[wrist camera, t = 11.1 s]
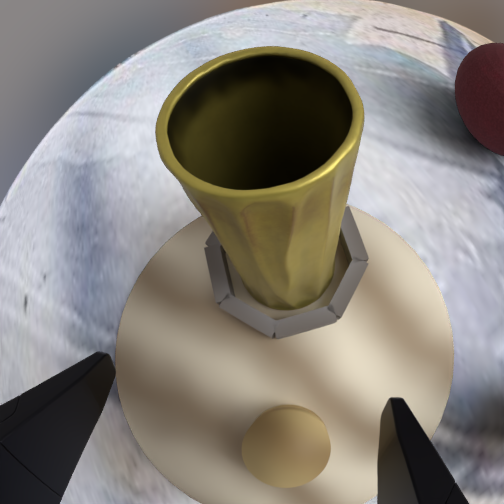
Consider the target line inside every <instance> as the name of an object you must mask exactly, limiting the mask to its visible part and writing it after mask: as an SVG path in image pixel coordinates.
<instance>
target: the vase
mask: <svg viewBox="0 0 504 504" xmlns="http://www.w3.org/2000/svg"><path fill="white" fill-rule="evenodd" d="M363 126H364V108H363V103H362V100H361V98H360V96H359V94H358V92H357V90H356V88H355V86H354V85H353V83H352V81H351V80H350V78H349V77H348V76H347V75H346V73H345V72H344V71H342V70H341V69H340V68H339V67H338V66H336V65H335V64H333V63H332V62H330V61H328V60H326V59H324V58H322V57H321V56H318V55H316V54H313V53H310V52H307V51H303V50H299V49H293V48H287V47H279V46H266V47H255V48H248V49H243V50H239V51H234V52H231V53H228V54H225V55H222V56H219V57H217V58H215V59H213V60H211V61H209V62H206V63H205V64H203V65H202V66H200V67H198V68H197V69H195V70H194V71H192V72H191V73H189V74H188V75H187V76H186V77H184V78H183V79H182V80H181V81H180V82H179V83H178V84H177V85H176V86H175V87H174V89H173V90H172V91H171V93H170V94H169V95H168V97H167V98H166V100H165V102H164V103H163V106H162V108H161V110H160V113H159V115H158V118H157V122H156V130H155V134H156V142H157V147H158V151H159V154H160V158H161V160H162V162H163V163H164V165H165V166H166V168H167V169H168V170H169V171H170V172H171V173H172V174H173V175H174V176H175V177H176V179H177V180H178V181H179V182H180V184H181V185H182V187H183V189H184V191H185V193H186V194H187V196H188V198H189V199H190V200H191V202H192V203H193V205H194V206H195V207H196V208H197V210H198V211H199V212H200V213H201V215H202V216H203V217H204V219H205V220H206V221H207V223H208V224H209V225H210V227H211V228H212V230H213V232H214V233H215V235H216V237H217V238H218V240H219V242H220V243H221V245H222V246H223V248H224V250H225V251H226V253H227V255H228V257H229V258H230V260H231V262H232V264H233V265H234V267H235V269H236V271H237V272H238V274H239V275H240V277H241V279H242V282H243V285H244V287H245V288H246V290H247V291H248V292H249V294H250V295H251V296H252V297H253V298H254V299H255V300H257V301H258V302H259V303H261V304H263V305H264V306H267V307H269V308H272V309H276V310H286V311H289V310H296V309H300V308H303V307H306V306H308V305H310V304H312V303H313V302H315V301H317V300H318V299H319V298H320V297H321V296H322V295H323V294H324V292H325V291H326V289H327V288H328V286H329V285H330V283H331V281H332V278H333V275H334V271H335V254H336V249H337V244H338V239H339V234H340V228H341V222H342V218H343V215H344V211H345V207H346V203H347V199H348V195H349V190H350V186H351V181H352V176H353V170H354V166H355V162H356V159H357V154H358V150H359V145H360V140H361V135H362V131H363Z"/></svg>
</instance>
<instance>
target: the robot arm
mask: <svg viewBox="0 0 504 504" xmlns="http://www.w3.org/2000/svg"><path fill="white" fill-rule="evenodd" d="M115 376H116V369H115V367H114V364H113V362H112V359H111V357H110V355H109V354H107V353H104V352H100V351H99V352H96V353H94V354H92V355H91V356H89V357H87V358H85V359H83V360H82V361H80V362H78V363H76V364H75V365H73V366H71V367H69V368H68V369H66V370H64V371H62V372H60V373H59V374H57V375H55V376H53V377H51V378H50V379H48V380H46V381H44V382H43V383H41V384H39V385H37V386H35V387H34V388H32V389H30V390H28V391H26V392H25V393H23V394H21V395H20V396H17V397H15V398H14V399H12V400H10V401H8V402H6V403H4V404H2V405H0V504H60V502H61V500H62V497H63V495H64V492H65V490H66V488H67V485H68V483H69V481H70V479H71V476H72V474H73V472H74V470H75V468H76V465H77V463H78V461H79V459H80V457H81V454H82V452H83V450H84V448H85V446H86V444H87V442H88V440H89V438H90V435H91V433H92V431H93V429H94V427H95V425H96V423H97V421H98V419H99V417H100V415H101V413H102V410H103V408H104V406H105V403H106V400H107V397H108V395H109V392H110V389H111V387H112V384H113V381H114V379H115ZM377 487H378V498H377V504H469V503H468V501H467V499H466V498H465V496H464V495H463V493H462V491H461V490H460V488H459V486H458V485H457V483H455V480H454V478H453V477H452V475H451V473H450V472H449V470H448V468H447V467H446V465H445V463H444V462H443V460H442V458H441V457H440V455H439V454H438V452H437V450H436V449H435V447H434V446H433V444H432V442H431V441H430V439H429V438H428V436H427V434H426V433H425V431H424V430H423V428H422V427H421V425H420V423H419V422H418V420H417V419H416V417H415V416H414V414H413V413H412V411H411V409H410V408H409V406H408V405H407V403H406V402H405V400H404V399H403V398H401V397H390V398H389V399H388V401H387V403H386V405H385V407H384V409H383V411H382V414H381V419H380V434H379V447H378V459H377Z"/></svg>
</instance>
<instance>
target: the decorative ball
mask: <svg viewBox="0 0 504 504" xmlns="http://www.w3.org/2000/svg"><path fill="white" fill-rule="evenodd" d="M455 98H456V103H457V107H458V110H459V113H460V115H461V117H462V120H463V122H464V124H465V126H466V127H467V129H468V130H469V132H470V133H471V134H472V135H473V136H474V137H475V138H476V139H477V140H478V141H479V142H480V143H481V144H482V145H483V146H485V147H486V148H487V149H489V150H491V151H492V152H494V153H497V154H499V155H502V156H504V44H503V43H489V44H485V45H481V46H479V47H477V48H475V49H474V50H472V51H470V52H469V53H468V54H467V56H466V57H465V58H464V59H463V61H462V63H461V64H460V66H459V68H458V71H457V75H456V80H455Z"/></svg>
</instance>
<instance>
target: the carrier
mask: <svg viewBox="0 0 504 504" xmlns="http://www.w3.org/2000/svg"><path fill="white" fill-rule="evenodd" d="M453 365H454V346H453V335H452V328H451V324H450V319H449V315H448V311H447V307H446V305H445V302H444V299H443V297H442V294H441V292H440V289H439V287H438V285H437V283H436V282H435V280H434V278H433V276H432V274H431V273H430V271H429V269H428V268H427V266H426V265H425V264H424V262H423V261H422V260H421V258H420V257H419V256H418V254H417V253H416V252H415V250H414V249H413V248H412V247H411V246H410V245H409V244H408V243H407V242H406V241H405V240H404V239H403V238H402V237H401V236H400V235H398V234H397V233H396V232H395V231H393V230H392V229H391V228H389V227H388V226H387V225H386V224H384V223H383V222H381V221H380V220H378V219H376V218H375V217H373V216H371V215H369V214H368V213H366V212H364V211H362V210H360V209H357V208H355V207H353V206H350V205H348V204H346V207H345V211H344V215H343V218H342V222H341V228H340V234H339V239H338V244H337V249H336V254H335V271H334V275H333V278H332V281H331V283H330V285H329V286H328V288H327V289H326V291H325V292H324V294H323V295H322V296H321V297H320V298H319V299H318V300H317V301H315V302H313V303H312V304H310V305H308V306H306V307H303V308H300V309H296V310H289V311H286V310H276V309H272V308H269V307H267V306H264V305H263V304H261V303H259V302H258V301H257V300H255V299H254V298H253V297H252V296H251V295H250V294H249V292H248V291H247V290H246V288H245V287H244V285H243V282H242V279H241V277H240V275H239V274H238V272H237V271H236V269H235V267H234V265H233V264H232V262H231V260H230V258H229V257H228V255H227V253H226V251H225V250H224V248H223V246H222V245H221V243H220V242H219V240H218V238H217V237H216V235H215V233H214V232H213V230H212V228H211V227H210V225H209V224H208V223H207V221H206V220H205V219H204V217H203V216H201V217H199V218H197V219H196V220H194V221H193V222H191V223H190V224H188V225H187V226H185V227H184V228H182V229H181V230H180V231H179V232H177V233H176V234H175V235H174V236H173V237H172V238H171V239H169V240H168V241H167V242H166V243H165V244H164V245H163V246H162V247H161V248H160V250H159V251H158V252H157V253H156V254H155V255H154V256H153V257H152V258H151V260H150V261H149V263H148V264H147V265H146V267H145V268H144V270H143V271H142V273H141V274H140V276H139V277H138V279H137V281H136V283H135V285H134V287H133V289H132V291H131V293H130V294H129V297H128V300H127V302H126V305H125V308H124V310H123V313H122V317H121V321H120V325H119V329H118V334H117V342H116V352H115V366H116V380H117V387H118V393H119V398H120V401H121V405H122V408H123V412H124V415H125V418H126V420H127V422H128V425H129V427H130V429H131V431H132V434H133V436H134V437H135V439H136V441H137V442H138V444H139V446H140V447H141V449H142V450H143V452H144V454H145V455H146V456H147V457H148V459H149V460H150V461H151V462H152V464H153V465H154V466H155V467H156V469H157V470H158V471H159V472H160V473H161V474H162V475H163V476H164V477H166V478H167V479H168V480H169V481H170V482H171V483H172V484H173V485H174V486H176V487H177V488H178V489H180V490H181V491H182V492H184V493H185V494H186V495H188V496H189V497H191V498H193V499H194V500H196V501H198V502H200V503H202V504H364V503H365V502H367V501H369V500H370V499H372V498H373V497H375V496H377V495H378V487H377V459H378V447H379V434H380V419H381V414H382V411H383V409H384V407H385V405H386V403H387V401H388V399H389V398H390V397H401V398H403V399H404V400H405V402H406V403H407V405H408V406H409V408H410V409H411V411H412V413H413V414H414V416H415V417H416V419H417V420H418V422H419V423H420V425H421V427H422V428H423V430H424V431H425V433H426V434H427V436H428V438H429V439H430V440H431V438H432V436H433V435H434V433H435V431H436V429H437V427H438V425H439V423H440V421H441V418H442V415H443V413H444V410H445V407H446V404H447V401H448V398H449V393H450V388H451V383H452V378H453Z"/></svg>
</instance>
